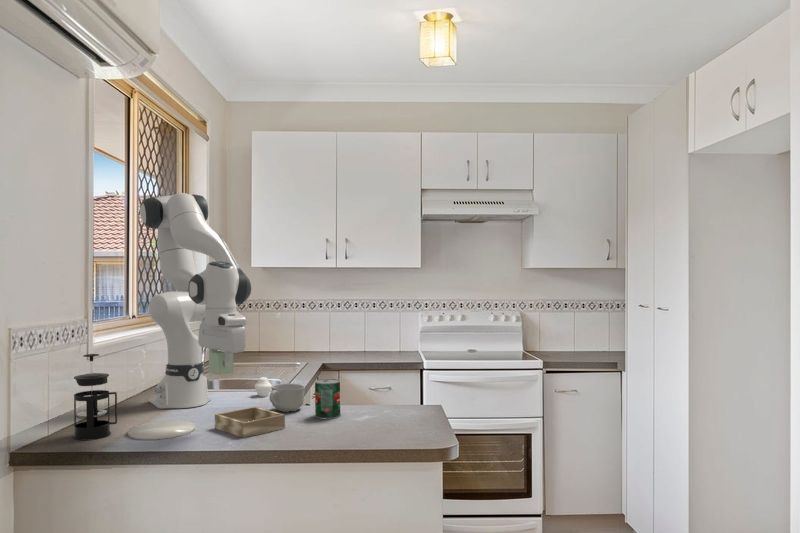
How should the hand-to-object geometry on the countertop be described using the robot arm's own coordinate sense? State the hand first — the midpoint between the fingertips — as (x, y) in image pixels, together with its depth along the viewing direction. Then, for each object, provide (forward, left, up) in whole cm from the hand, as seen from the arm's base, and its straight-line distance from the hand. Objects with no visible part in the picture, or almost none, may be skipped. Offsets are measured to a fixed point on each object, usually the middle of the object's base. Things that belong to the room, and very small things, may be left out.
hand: (220, 365), depth 186 cm
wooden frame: (+6, +6, -19) cm, 20 cm away
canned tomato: (+11, +31, -19) cm, 38 cm away
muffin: (-31, +35, -19) cm, 51 cm away
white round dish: (-10, -13, -19) cm, 25 cm away
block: (0, 0, -2) cm, 2 cm away
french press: (-20, -28, -19) cm, 40 cm away
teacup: (-5, +26, -19) cm, 33 cm away
